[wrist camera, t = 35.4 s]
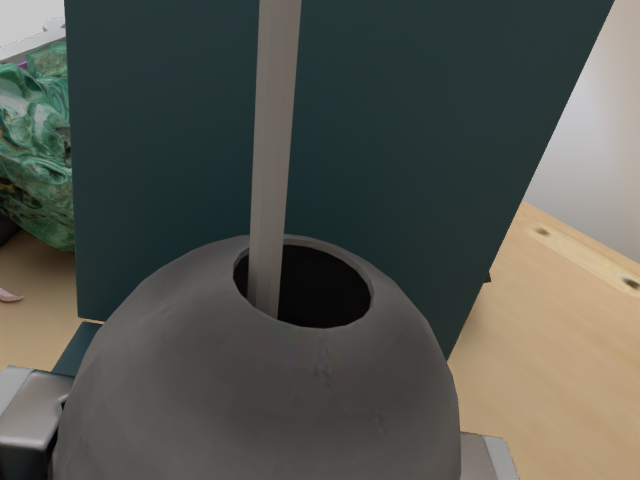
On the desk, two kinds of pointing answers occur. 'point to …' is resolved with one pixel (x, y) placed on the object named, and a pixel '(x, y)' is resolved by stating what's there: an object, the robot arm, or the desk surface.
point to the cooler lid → (317, 133)
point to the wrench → (34, 41)
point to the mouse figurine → (9, 296)
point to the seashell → (6, 227)
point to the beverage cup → (263, 348)
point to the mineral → (37, 146)
